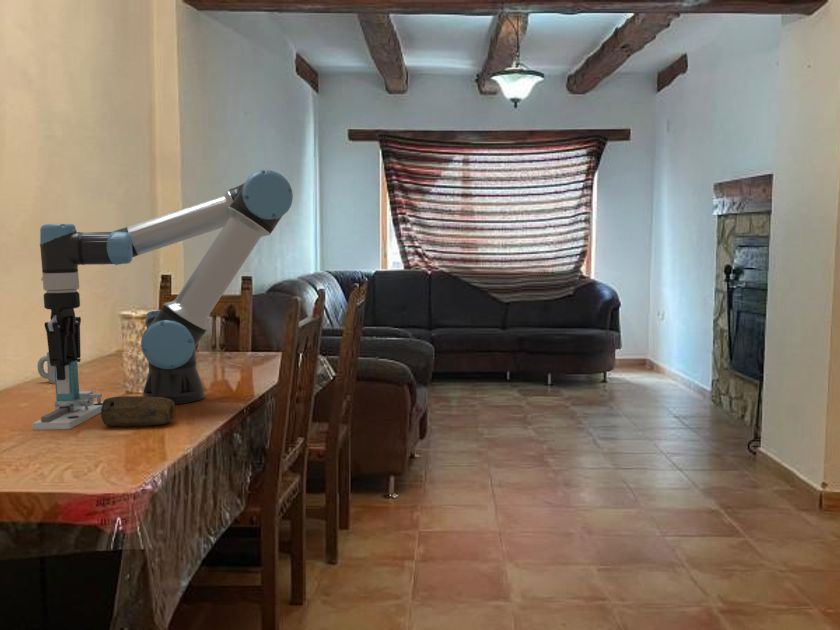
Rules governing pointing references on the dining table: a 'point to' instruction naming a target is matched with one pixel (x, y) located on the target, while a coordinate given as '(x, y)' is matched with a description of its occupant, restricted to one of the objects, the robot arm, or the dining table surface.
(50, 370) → the cup
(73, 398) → the block
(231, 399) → the dining table surface
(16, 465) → the dining table surface
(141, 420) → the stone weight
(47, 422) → the gauge plate
